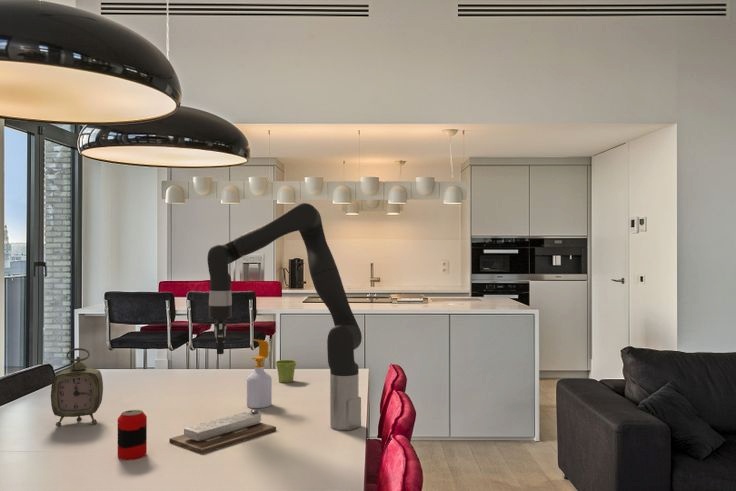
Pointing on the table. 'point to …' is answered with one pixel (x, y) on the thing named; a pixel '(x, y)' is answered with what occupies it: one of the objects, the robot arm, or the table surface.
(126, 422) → the soda can
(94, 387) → the tabletop clock
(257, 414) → the swing arm
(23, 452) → the table surface
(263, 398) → the soap bottle
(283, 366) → the plant pot
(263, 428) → the label panel
